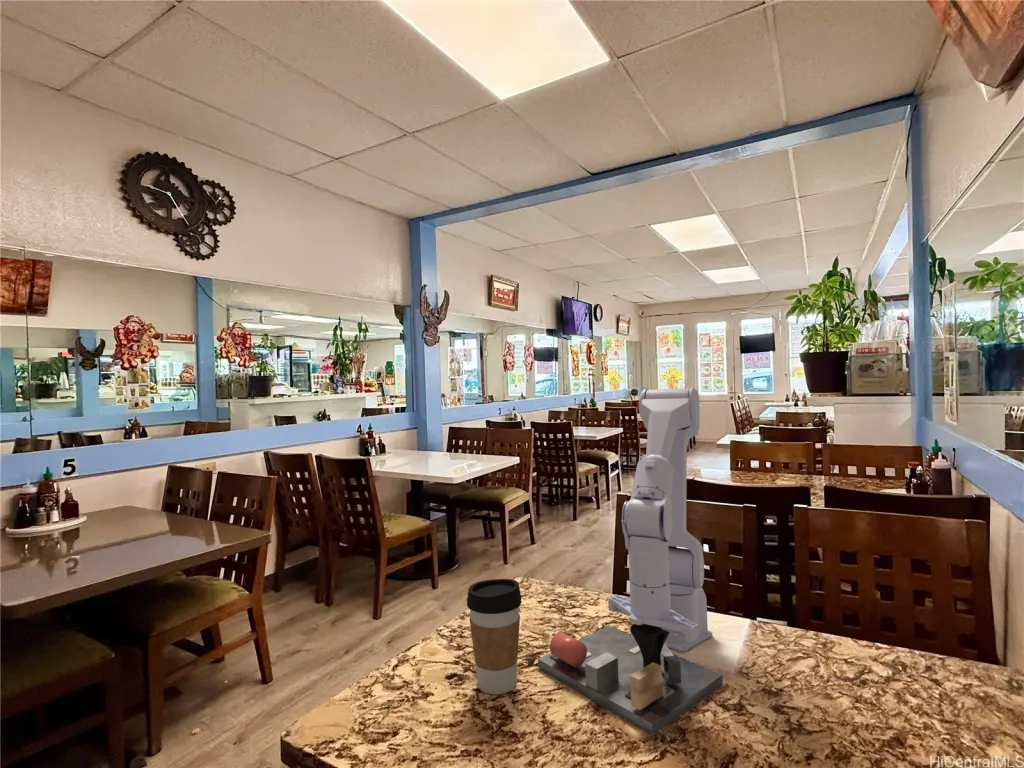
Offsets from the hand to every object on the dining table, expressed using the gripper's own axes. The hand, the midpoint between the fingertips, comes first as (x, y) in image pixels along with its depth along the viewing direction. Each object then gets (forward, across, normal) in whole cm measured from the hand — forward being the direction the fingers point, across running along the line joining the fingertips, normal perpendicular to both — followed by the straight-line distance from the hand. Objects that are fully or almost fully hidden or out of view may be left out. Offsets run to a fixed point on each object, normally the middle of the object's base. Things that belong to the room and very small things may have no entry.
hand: (652, 673), depth 77 cm
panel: (+2, -5, 0) cm, 5 cm away
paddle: (0, +3, -5) cm, 6 cm away
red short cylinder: (0, -11, -6) cm, 13 cm away
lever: (0, 0, +3) cm, 3 cm away
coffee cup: (+3, -17, -16) cm, 23 cm away
